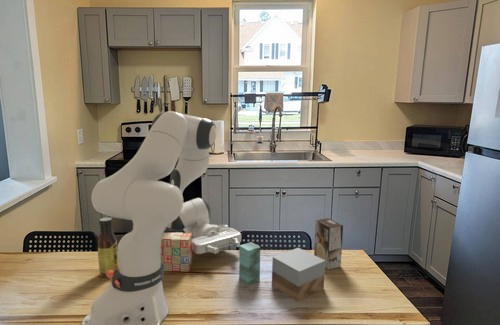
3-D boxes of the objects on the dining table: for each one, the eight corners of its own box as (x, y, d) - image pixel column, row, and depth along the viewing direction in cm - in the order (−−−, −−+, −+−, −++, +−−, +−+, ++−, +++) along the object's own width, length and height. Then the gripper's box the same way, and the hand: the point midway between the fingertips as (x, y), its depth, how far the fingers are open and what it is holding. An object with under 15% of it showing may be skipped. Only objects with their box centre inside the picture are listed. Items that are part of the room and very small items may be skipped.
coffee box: (341, 266, 125) (344, 225, 122) (327, 270, 122) (330, 228, 119) (326, 256, 133) (328, 217, 130) (312, 259, 130) (314, 219, 127)
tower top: (298, 286, 102) (299, 271, 101) (272, 271, 111) (272, 256, 110) (324, 274, 109) (325, 260, 108) (297, 261, 118) (298, 247, 118)
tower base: (298, 302, 103) (298, 287, 102) (271, 285, 112) (272, 271, 111) (323, 289, 110) (324, 274, 109) (296, 274, 119) (297, 261, 118)
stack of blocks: (129, 270, 120) (127, 238, 118) (135, 262, 126) (133, 231, 124) (189, 272, 120) (188, 239, 117) (192, 263, 126) (191, 232, 124)
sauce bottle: (119, 276, 116) (116, 221, 112) (99, 280, 113) (95, 223, 110) (118, 267, 122) (115, 215, 118) (99, 271, 119) (95, 217, 115)
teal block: (248, 284, 111) (248, 250, 109) (239, 278, 115) (239, 245, 113) (259, 280, 114) (260, 247, 112) (250, 274, 118) (251, 242, 116)
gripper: (184, 234, 128) (203, 247, 117) (229, 223, 140) (249, 233, 129) (185, 250, 129) (203, 263, 118) (229, 237, 141) (249, 249, 130)
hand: (228, 248), depth 124 cm, fingers open, 8 cm apart
